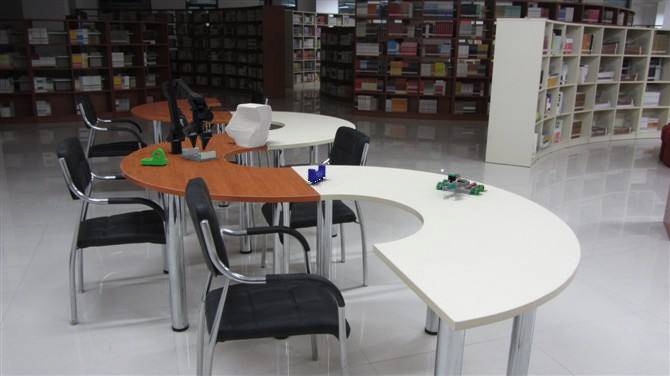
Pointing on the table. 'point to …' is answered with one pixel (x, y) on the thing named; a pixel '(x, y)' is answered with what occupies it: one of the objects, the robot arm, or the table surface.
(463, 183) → the robot kit
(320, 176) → the cable clip
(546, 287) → the table surface
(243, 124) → the white faceted sculpture
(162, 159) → the mechanical part
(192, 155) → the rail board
